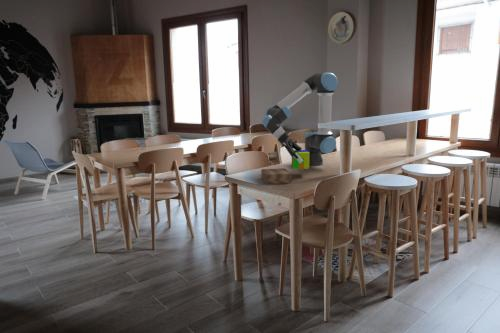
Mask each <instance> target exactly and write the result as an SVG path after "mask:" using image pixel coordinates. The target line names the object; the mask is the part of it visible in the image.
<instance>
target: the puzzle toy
mask: <svg viewBox="0 0 500 333" xmlns="http://www.w3.org/2000/svg"><path fill="white" fill-rule="evenodd" d="M294 151H295V154H296V153H297V154H298V155H299V156H300V157H301V158H302V159H303V161H302V162H301V163H299V162H298V161H297V160H296V159H295V158H294V156H291V167H292V169H294V170H296V169H297V170H298V169H299V170H301V169H302V170H303V169H306V170H307V169H310V165H309V152H308V150H305V149H301V150H295V149H294Z"/></svg>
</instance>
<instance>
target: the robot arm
mask: <svg viewBox="0 0 500 333" xmlns="http://www.w3.org/2000/svg"><path fill="white" fill-rule="evenodd" d="M338 84H339V81H338V77H337V76H336V75H335V74H334V73H332V72H327V71H326V72H315V73H314V74H312V75H311V76H309V77H308V78H306V79H305V80H304V81H302V82H301V85H300V86H298V87H296V88H295V89H294V90H293V91H291V92H290V93H289V94H288V95H286V96H285V97H284V98H283V99H282V100H280V101H279V102H277V103H276V104H275V105H274V106H272V107H268V108H266V110H265V111H264V114H265V117H264V118H263V119H262V121H261V124H262V125H263V126H264V128H266V130H267V131H268V132H269V133H270V134H272V136H273V138H275V139H276V140H277V142H279V144H282V145H283V147H284V148H285V149H286V151H287V152H288V153H289V155H290V157H292V156H294V158H295V159H296V160H297V161H298V162H299V163H301V162H302V161H303V159H302V158H301V157H300V156H299V155H298V154H297V153H296V154H295V151H294V150H303V148H302V147H301V146H300V145H298V144H297V143H296V142H295V141H294V140H293V139H292V138H289V137H290V135H289V133H287V132H286V130H285V129H284V128H283V127H282V126H281V124H282V123H283V122H285V121H286V120H287V119H289V117H291V116H292V111H291V109H290V108H291V107H293V106H294V105H295V104H297V103H298V102H299V101H301V99H303V98H305V96H307V95H310V94H312V93H313V92H315V91H316V94H317V95H318V124H319V123H327V122H331V123H332V105H333V104H332V102H333V101H332V97H333V95H334V94H335V90H336V89H337V87H338ZM317 130H318V131H317V132H314V131H313V132H306V133H305V134H304V135H305V136H304V150H308V152H309V166H322V165H323V164H324V159H323V157H322V153H323V154H330V153H332V152H333V151H334V150H335V149H336V146H337V140H336V139H335V137H334V133H333V132H332V128H331V129H322V128H318V129H317Z"/></svg>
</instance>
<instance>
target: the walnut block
mask: <svg viewBox="0 0 500 333" xmlns="http://www.w3.org/2000/svg"><path fill="white" fill-rule="evenodd" d="M260 178H261V179H262V180H263V182H264V183H265V184H266V185H274V184H275V185H276V184H291V183H292V173H291V172H290V171H289V170H287V169H286V168H285V167H283V168H262V169H261V177H260Z"/></svg>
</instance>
